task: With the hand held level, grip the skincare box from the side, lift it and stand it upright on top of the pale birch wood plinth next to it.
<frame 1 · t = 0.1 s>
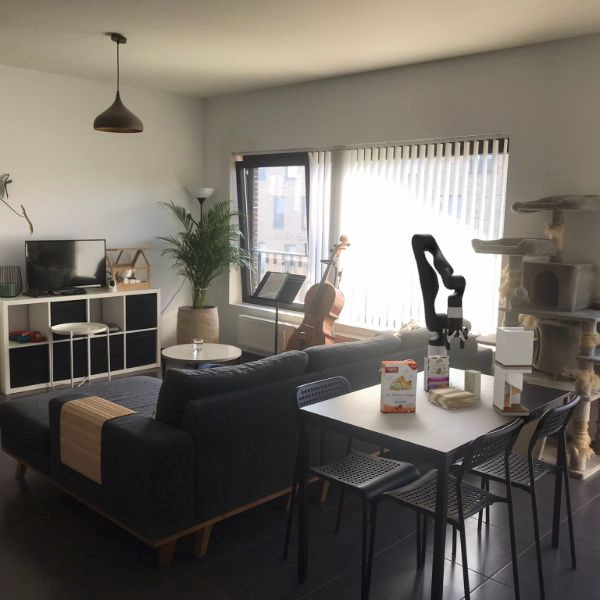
hand: (454, 349, 310), 17 cm above the table, tool pointing down, fingers open, 8 cm apart
candy bar box: (435, 390, 301), on the table
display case: (510, 412, 267), on the table
cracker box: (397, 411, 266), on the table
birch plinth: (451, 403, 279), on the table
skincare box: (471, 397, 289), on the table
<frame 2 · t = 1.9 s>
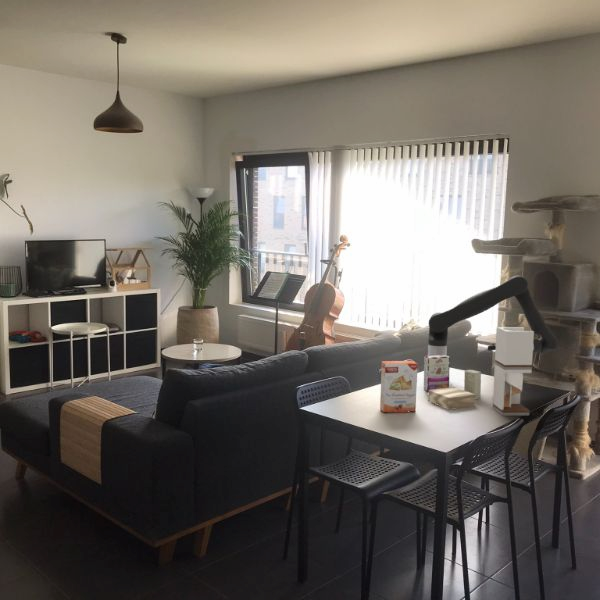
hand: (494, 349, 291), 21 cm above the table, tool horizontal, fingers open, 8 cm apart
nothing on the table moved.
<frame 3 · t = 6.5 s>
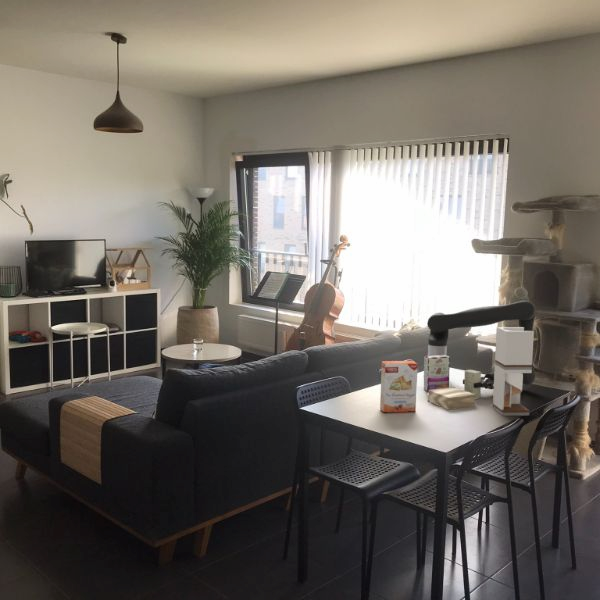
hand: (468, 383, 287), 7 cm above the table, tool horizontal, fingers closed on skincare box, 6 cm apart
skincare box: (471, 397, 289), on the table, touching gripper
everything else where it was.
when the fingers open (13 cm above the table, at t = 11.4 s): skincare box drops 1 cm, resting on birch plinth.
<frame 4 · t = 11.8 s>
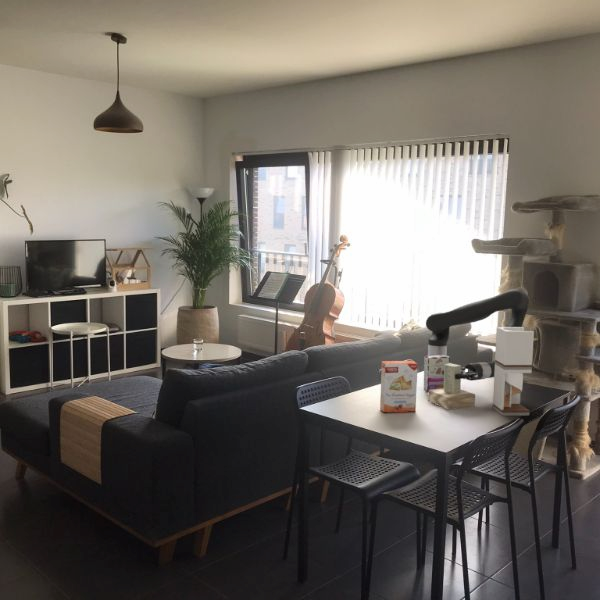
hand: (448, 374, 276), 13 cm above the table, tool horizontal, fingers open, 8 cm apart
skincare box: (451, 392, 278), point 5 cm above the table, touching birch plinth
everything else where it was.
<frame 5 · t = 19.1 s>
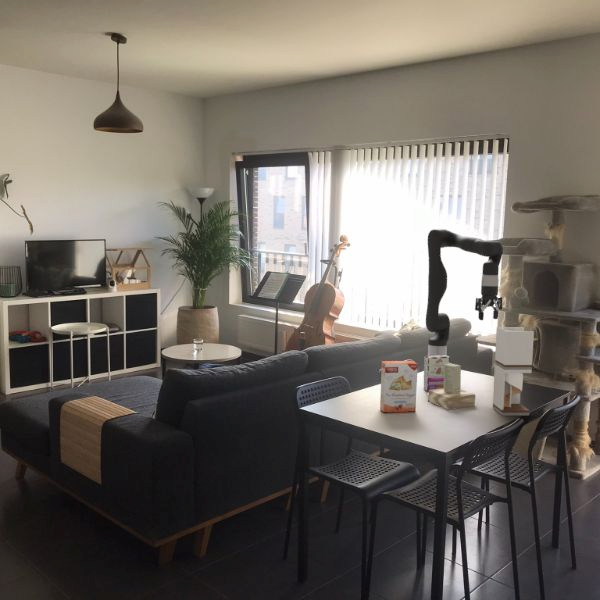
hand: (488, 319, 296), 34 cm above the table, tool pointing down, fingers open, 8 cm apart
nothing on the table moved.
at the end: skincare box inside the target area on the birch plinth (0.2 cm from its centre), point 4.8 cm above the birch plinth's base; skincare box tilted 0°; the gripper is holding nothing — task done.
